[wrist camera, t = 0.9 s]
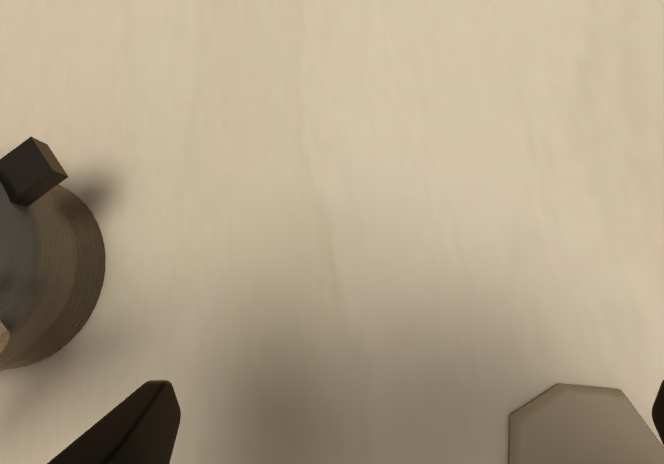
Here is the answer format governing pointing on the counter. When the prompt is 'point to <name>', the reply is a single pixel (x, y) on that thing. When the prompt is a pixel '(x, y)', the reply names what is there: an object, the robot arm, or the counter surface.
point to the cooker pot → (44, 256)
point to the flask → (582, 429)
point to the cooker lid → (3, 336)
